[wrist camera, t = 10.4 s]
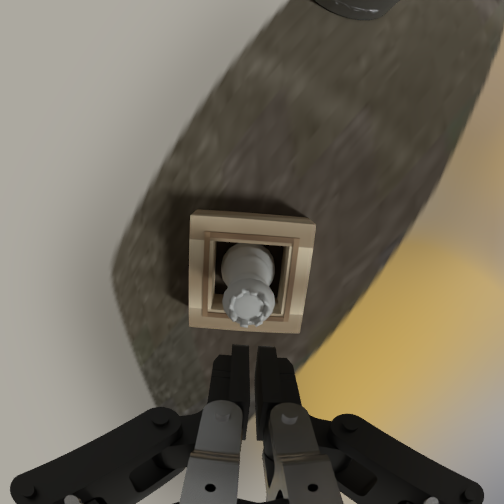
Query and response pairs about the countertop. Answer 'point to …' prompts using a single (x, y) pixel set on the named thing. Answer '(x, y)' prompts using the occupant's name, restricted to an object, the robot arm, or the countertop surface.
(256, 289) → the rook chess piece
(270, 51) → the countertop surface
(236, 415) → the robot arm
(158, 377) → the countertop surface
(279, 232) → the socket block
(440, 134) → the countertop surface
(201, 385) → the countertop surface
